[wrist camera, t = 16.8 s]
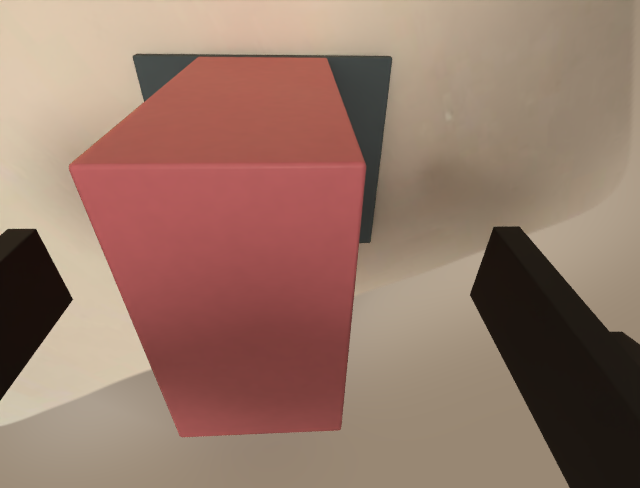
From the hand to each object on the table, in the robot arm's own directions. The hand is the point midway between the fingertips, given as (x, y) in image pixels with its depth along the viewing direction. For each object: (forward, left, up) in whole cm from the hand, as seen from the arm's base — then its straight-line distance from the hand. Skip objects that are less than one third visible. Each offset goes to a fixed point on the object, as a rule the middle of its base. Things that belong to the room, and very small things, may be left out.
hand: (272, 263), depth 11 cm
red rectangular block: (0, 0, -7) cm, 7 cm away
